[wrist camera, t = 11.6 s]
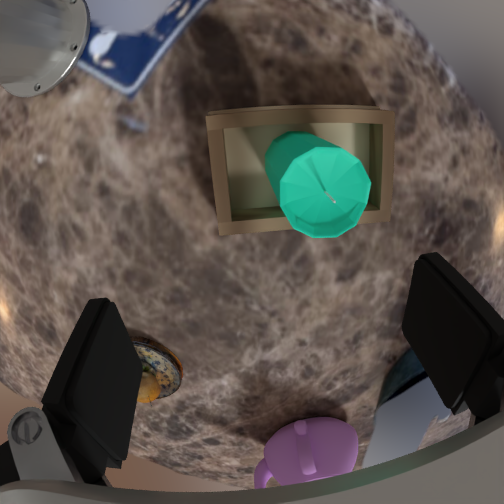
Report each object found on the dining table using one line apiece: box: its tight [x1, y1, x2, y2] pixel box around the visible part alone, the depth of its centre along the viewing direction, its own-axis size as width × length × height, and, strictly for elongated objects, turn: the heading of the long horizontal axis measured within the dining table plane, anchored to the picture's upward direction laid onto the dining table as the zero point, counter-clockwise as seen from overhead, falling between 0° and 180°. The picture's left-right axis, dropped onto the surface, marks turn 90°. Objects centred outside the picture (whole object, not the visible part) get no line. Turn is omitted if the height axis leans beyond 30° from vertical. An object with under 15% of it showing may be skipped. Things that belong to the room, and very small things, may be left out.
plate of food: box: [130, 337, 183, 406], centre depth 37 cm, size 12×12×8 cm
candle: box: [265, 131, 371, 238], centre depth 23 cm, size 6×6×12 cm
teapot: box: [254, 417, 358, 489], centre depth 45 cm, size 22×22×14 cm
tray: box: [205, 105, 395, 236], centre depth 27 cm, size 16×11×4 cm
